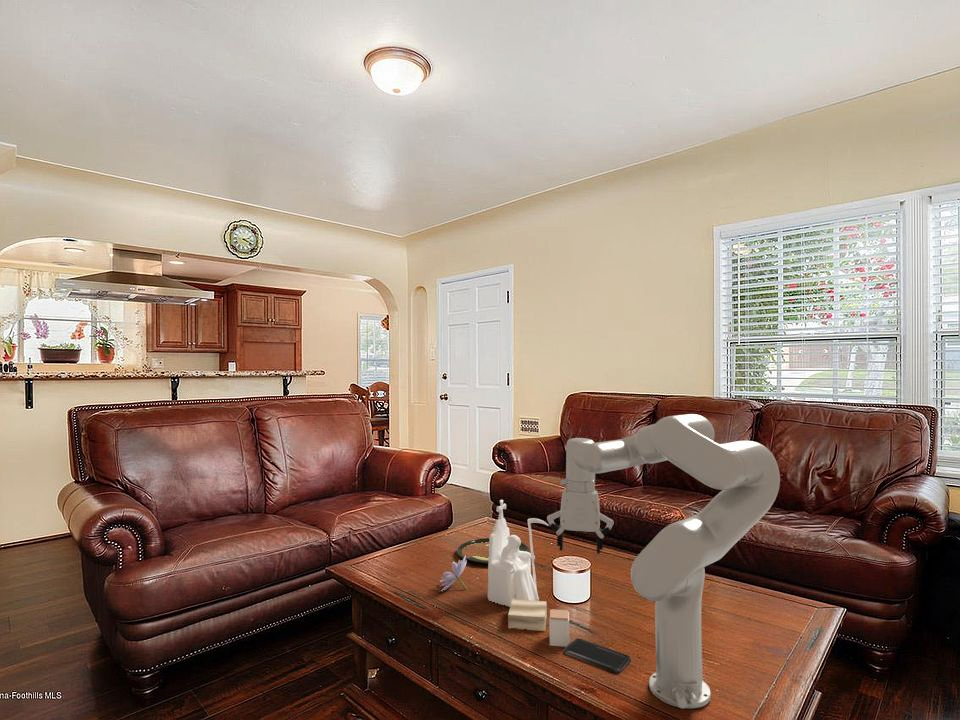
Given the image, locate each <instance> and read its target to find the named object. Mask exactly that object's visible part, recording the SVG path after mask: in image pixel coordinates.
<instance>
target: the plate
mask: <svg viewBox="0 0 960 720" xmlns="http://www.w3.org/2000/svg"><path fill="white" fill-rule="evenodd" d="M481 542H483V543H485V542H489V537H485V538H484V537H483V538H476V539H473V540H472V539H471V540H469V541H465V542H464V543H462V544H460V545H458V547H457V549H456V553H457V555H458V556H459V558H461V559H463V558H464V556H463V555H462V549H463V548H464V547H466V546H467V545H470V544H474V543H481ZM485 545H486V546H489V544H485ZM519 551H526V552H529V553H530V552H531V549H530V548H529V546H528V545H527V544H525V543H523V542H521V545H519ZM466 560H467V561H471V562H473V563H478V564H486V565H487V564H488V558H485V557H480V556H479V557H478V556H472V557H470V558H466Z"/></svg>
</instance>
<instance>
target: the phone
mask: <svg viewBox="0 0 960 720" xmlns="http://www.w3.org/2000/svg"><path fill="white" fill-rule="evenodd" d="M563 654H564V655H567V656H568V657H572V658H575V659H577V660H580V661H582V662H584V663H588V664H590V665H593V666H595V667H596V668H597V667H598V668H600V669H603V670H605V671H608V672H609V673H610V672H611V673H613V674H620V673H622V671H623V670H625V669H626V668H627V666H628V665H629V664H631V662H632V657H631V656H630V655H629V654H626V653H622V652H620V651H616V650H614V649H612V648H608V647H605V646H602V645H600V644H597V643H593V642H591V641H589V640H586V639H583V638H579V637H578V638H576V639H574V640H572V642H569V645H568V646H567V647H563Z"/></svg>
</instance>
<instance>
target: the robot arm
mask: <svg viewBox="0 0 960 720" xmlns="http://www.w3.org/2000/svg"><path fill="white" fill-rule="evenodd" d="M715 436H716V435H715V429H714V426H713V424H712V423H711V422H710V420H708V419H707V418H706V417H704V416H702V415H700V414H697V413H696V414H695V413H688V414H687V413H685V414H677V415H675V414H674V415H668V416H665V417H662V418H660V419H658V421H657V422H655V423H653V424H649V425H645V426H643V427H641V428H639V429H638V430H637V432H636V434H634V435H631V436H628V437H624V438H620V439H613V440H605V441H598V442H595V441H594V440H593V439H590V438H586V437H585V438H584V437H574V438H570V439H568V440H567V441H566V448H565V450H566V451H565V452H566V455H565V456H566V457H565V460H566V461H565V478H564V479H563V480H562V479H560V483H559V484H560V486H563V487H564V489H563V490H562V493H561V502H560V510H558V511H555V512H553V513H551V514H548V515H547V517H546V521H547V522H548V525H549V527H550V528H551V529H552V531H553V532H554V533H555V534H556V537H557V538H556V541H557V542H556V546H557V547H559V552H561V551H563V549H564V533H563V532H565V530H566V531H572V532H573V531H575V532H589V533H595V534H596V554H598V555H600V554H601V550H603V544H604V543H603V539H604V537H605V536H606V535H607V534H609V533H610V531H611V530H612V527H613V526H614V525H615V523H614V519H612V518H610V517H608V516H606V515H604V514H603V513H601V511H600V497H599V492H598V490H596V474H603V473H608V472H609V473H610V472H613V471H618V470H624V469H629V468H632V467H637V466H641V465H645V464H651V465H652V464H656V463H661V462H665V461H666V462H667V461H669V462H670V463H671V464H672V465H674V466H675V467H677V468H679V469H681V470H682V471H683V472H685V473H687V474H688V475H689V476H691V477H693V478H694V479H695V480H696V481H698V482H701V483H702V484H703V485H705V486H707V487H709V488H712V489H714V490H720V492H718V494H716V495H715V496H714V497H713V498H711V500H710V501H709V502H708V503H707V504H706V506H704V508H702V509H701V510H700V511H699V512H697V514H694V515H692V516H690V517H687V518H684V519H681V520H679V521H675V522H672V523H670V524H669V525H666V526H665V527H664V528H663V529H661V530H660V531H659V532H658V533H657V534H656V535H655V537H653V539H652V540H651V541H650V542H649V543H648V544H647V545H646V546H645V547H644V548H643V549H642V550H641V551H640V553H638V554H637V556H636V557H635V559H634V560H633V562H632V565H631V569H630V579H631V580H630V581H631V584H632V587H633V588H634V590H635V591H636V592H637V594H638V595H639V596H641V597H642V598H643V599H646V600H648V601H652V602H654V603H655V604H654V624H655V626H654V628H655V633H654V634H655V636H654V637H655V672H654V673H652V674H651V675H650V677H649V678H648V679H649V680H648V685H649V686H648V688H649V690H650V692H651V693H652V695H654V696H655V697H656V698H657V699H659V700H660V701H661V702H662V703H665V704H668V705H669V706H672V707H676V708H680V709H689V710H691V709H698V708H699V709H700V708H702V707H705V706H706V705H708V704H709V702H710V701H711V698H712V697H711V696H712V694H711V689H710V687H709V685H708V684H707V683H706V682H705V681H704V679H703V678H704V677H703V646H702V645H703V643H702V642H703V639H702V638H703V637H702V599H703V590H704V583H705V576H706V572H705V571H706V570H705V567H707V566H709V565H711V564H714V563H715V562H717V561H720V560H721V559H722V558H723V557H724V556H725V555H726V554H727V553H728V552H729V551H730V550H731V549H732V548H733V547H734V545H736V544H737V543H738V541H741V539H742V538H743V537H744V536H745V535H746V534H748V532H749V530H751V529H752V528H753V527H754V526H755V525H756V524H757V523H758V522H759V521H760V520H761V519H762V518H763V517H764V516H765V515H766V514H767V512H768V511H769V510H770V509H771V508H772V506H773V505H774V502H775V501H776V499H777V496H778V493H779V490H780V485H781V484H780V483H781V474H780V469H779V465H778V462H777V460H776V458H775V456H774V454H773V453H772V452H771V451H770V450H769V449H768V447H766V446H765V445H763V444H761V443H759V442H757V441H753V440H735V441H731V442H725V443H717V442H715V441H714V440H715ZM557 518H559V521H560V522H559V523H560V524H559V526H558V525H557V524H556V523H555V521H554V520H556V519H557ZM601 521H603V522H604V523H606V526H605V527H604V528H602V529H601V527H600V525H601Z"/></svg>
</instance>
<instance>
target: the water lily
mask: <svg viewBox="0 0 960 720" xmlns="http://www.w3.org/2000/svg"><path fill="white" fill-rule="evenodd" d="M466 554H467V553H466ZM467 561H468V560H467V559H466V555H465V556H464V558H462V560H460V559H459V560H458V562H455V561H452V563H451V568H452V570H451V571H444V572H442V575H443V576H440V577H438V578H440V581H439V582H440V583H443V584H441V585H440V586H438V587H439V588H441V587H443V588H442V589H441V590H440V591H442V592H444V591H446V590H447V589H448V588H449V587H451V586H452V585H453V584H454V583H455V581H456V580H458V581H459V583H460V584H461V586H462V587H463V588H464V589H465V588H467V586H466V585H465V584H464V581H462V580H461V579H460V576H461V575H462V573H463V572H464V570H465V568H466V565H467V563H468V562H467ZM443 590H444V591H443Z"/></svg>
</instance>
